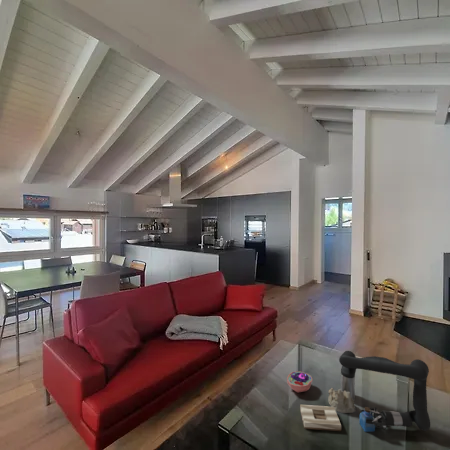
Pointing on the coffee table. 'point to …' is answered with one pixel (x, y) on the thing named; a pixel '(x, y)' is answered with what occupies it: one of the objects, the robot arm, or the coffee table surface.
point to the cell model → (299, 381)
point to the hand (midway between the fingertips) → (363, 416)
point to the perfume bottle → (363, 418)
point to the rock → (341, 401)
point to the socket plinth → (320, 418)
